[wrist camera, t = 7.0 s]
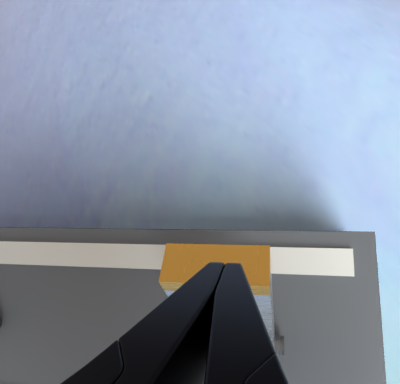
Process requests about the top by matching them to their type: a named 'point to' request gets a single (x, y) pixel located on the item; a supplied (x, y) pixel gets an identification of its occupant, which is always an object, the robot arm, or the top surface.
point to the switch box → (154, 294)
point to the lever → (244, 254)
